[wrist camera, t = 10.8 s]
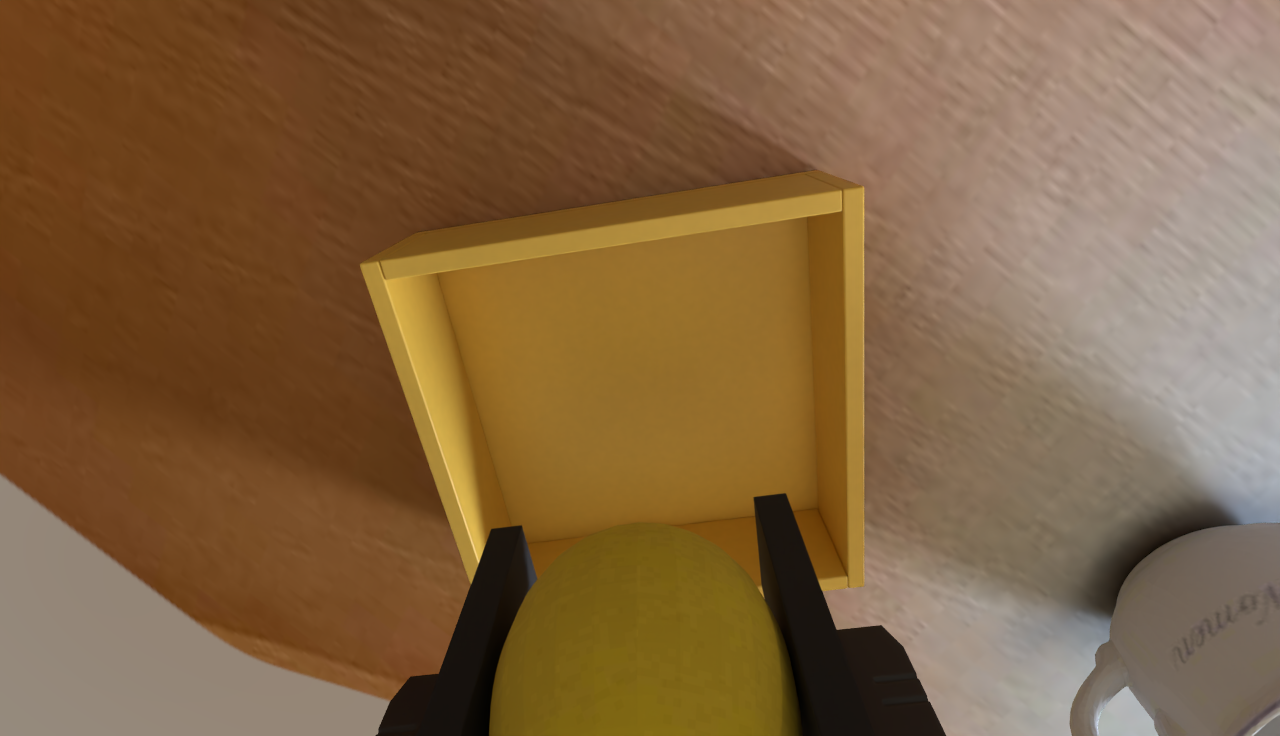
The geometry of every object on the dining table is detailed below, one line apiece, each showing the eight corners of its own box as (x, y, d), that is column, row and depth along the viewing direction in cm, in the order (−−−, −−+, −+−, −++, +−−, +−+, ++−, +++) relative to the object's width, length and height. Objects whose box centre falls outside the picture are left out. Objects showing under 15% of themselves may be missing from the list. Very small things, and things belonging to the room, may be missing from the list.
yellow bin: (510, 547, 27) (485, 629, 22) (415, 232, 21) (357, 263, 17) (828, 508, 26) (865, 587, 22) (818, 169, 20) (865, 185, 16)
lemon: (651, 408, 13) (662, 789, 6) (801, 554, 15) (958, 997, 7) (485, 542, 15) (327, 979, 7) (637, 661, 16) (634, 1116, 9)
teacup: (1347, 466, 25) (1643, 617, 17) (1292, 649, 29) (1511, 833, 22) (1003, 524, 26) (1144, 687, 19) (998, 691, 30) (1112, 878, 23)
